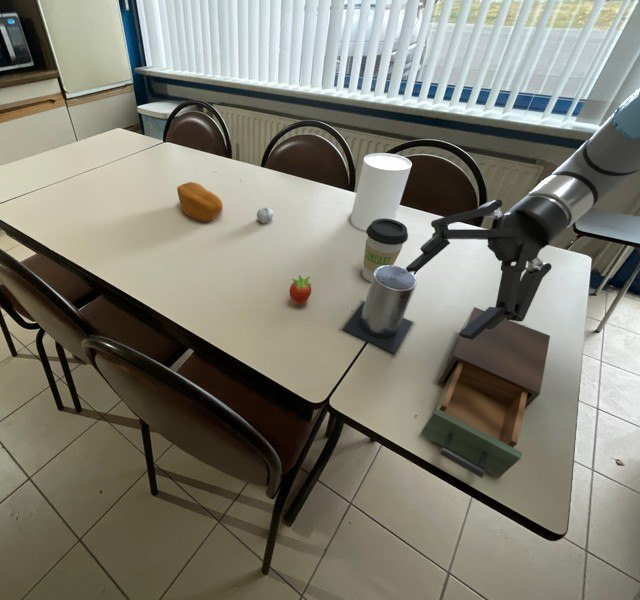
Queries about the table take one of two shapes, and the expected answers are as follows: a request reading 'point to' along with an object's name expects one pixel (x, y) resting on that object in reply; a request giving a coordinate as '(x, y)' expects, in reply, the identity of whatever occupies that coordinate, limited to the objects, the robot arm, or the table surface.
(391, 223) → the coffee cup
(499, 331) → the cabinet
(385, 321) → the silver cylinder
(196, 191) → the bread
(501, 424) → the drawer
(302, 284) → the fruit
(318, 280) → the table surface
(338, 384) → the table surface
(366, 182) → the canister
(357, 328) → the mat
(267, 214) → the garlic
